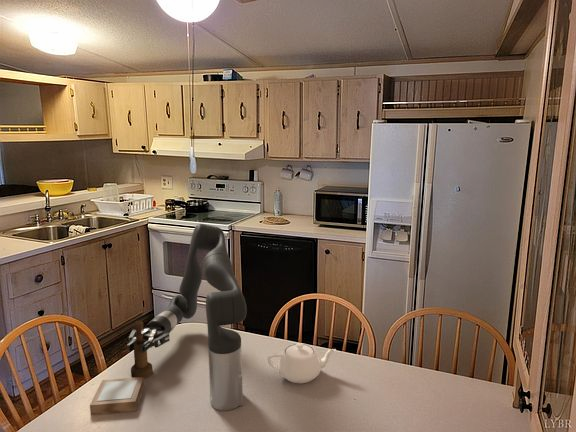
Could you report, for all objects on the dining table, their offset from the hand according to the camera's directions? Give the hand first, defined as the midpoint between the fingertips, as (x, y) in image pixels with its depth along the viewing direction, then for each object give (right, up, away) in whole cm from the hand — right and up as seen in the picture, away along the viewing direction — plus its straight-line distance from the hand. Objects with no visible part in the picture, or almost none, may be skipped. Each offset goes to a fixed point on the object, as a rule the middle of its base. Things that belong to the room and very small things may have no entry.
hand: (135, 349), depth 130 cm
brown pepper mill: (+1, -9, +5) cm, 11 cm away
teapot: (+52, -10, +4) cm, 53 cm away
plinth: (-2, -12, -9) cm, 15 cm away
